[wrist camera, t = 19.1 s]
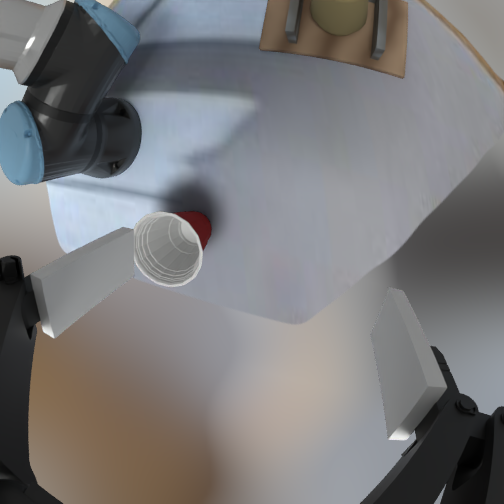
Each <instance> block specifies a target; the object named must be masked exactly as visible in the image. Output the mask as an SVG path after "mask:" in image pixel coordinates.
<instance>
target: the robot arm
mask: <svg viewBox="0 0 504 504" xmlns="http://www.w3.org/2000/svg"><path fill="white" fill-rule="evenodd" d="M139 40H140V34H139V32H138V30H137V29H136V28H135V27H134V26H133V25H132V24H130V23H129V22H128V21H127V20H125V19H124V18H123V17H121V16H120V15H118V14H117V13H115V12H114V11H112V10H111V9H109V8H108V7H106V6H104V5H102V4H100V3H99V2H97V1H96V0H75V2H74V3H72V2H69V1H67V0H60V1H57V2H55V3H53V4H50V5H48V6H43V5H40V4H36V3H33V2H29V1H26V0H0V68H3V69H10V70H12V71H13V72H14V74H15V76H16V79H17V81H18V83H19V84H21V85H26V86H28V87H27V90H26V92H25V95H24V97H23V99H22V101H15V102H14V103H11V104H9V105H8V107H7V108H6V109H5V110H4V111H3V114H2V116H1V118H0V164H1V167H2V170H3V172H4V173H5V175H6V176H7V178H8V179H9V180H10V181H11V182H12V183H14V184H16V185H26V184H38V183H40V182H44V181H48V180H52V179H56V178H60V177H65V176H69V175H73V174H78V173H82V174H85V175H89V176H92V177H96V178H109V177H113V176H117V175H119V174H121V173H122V172H124V171H125V170H126V169H127V168H128V167H129V166H130V165H131V164H132V162H133V161H134V159H135V157H136V155H137V153H138V150H139V146H140V142H141V125H140V120H139V117H138V115H137V112H136V111H135V109H134V108H133V107H132V106H131V105H130V104H129V103H128V102H126V101H124V100H122V99H117V98H104V97H105V96H106V94H107V92H108V91H109V89H110V87H111V86H112V84H113V82H114V81H115V79H116V78H117V76H118V75H119V73H120V71H121V70H122V68H123V67H124V65H125V64H127V63H128V59H129V57H130V56H131V54H132V52H133V51H134V49H135V48H136V46H137V45H138V43H139ZM132 277H134V229H130V228H125V227H122V228H120V229H117V230H115V231H113V232H111V233H109V234H107V235H105V236H103V237H101V238H98V239H96V240H94V241H92V242H90V243H88V244H86V245H84V246H82V247H80V248H78V249H76V250H74V251H72V252H70V253H68V254H66V255H64V256H63V257H61V258H59V259H57V260H55V261H53V262H51V263H49V264H47V265H46V266H44V267H42V268H40V269H38V270H37V271H35V272H33V273H31V274H30V275H28V276H26V277H25V278H24V273H23V267H22V261H21V258H20V257H18V256H12V255H11V256H6V257H3V258H0V504H63V503H62V502H60V501H59V500H57V499H56V498H55V497H53V496H52V495H51V494H49V493H48V492H47V491H45V490H44V489H43V488H42V487H40V486H39V485H38V484H37V481H36V478H35V475H34V473H33V471H32V469H31V466H30V462H29V444H28V411H29V391H30V380H31V369H32V361H33V354H34V346H35V340H36V334H37V328H36V325H35V324H36V323H37V322H39V321H41V325H42V328H43V332H44V333H46V334H48V335H49V336H51V337H53V338H56V337H57V336H58V335H60V334H61V333H62V332H63V331H64V330H66V329H67V328H68V327H69V326H71V325H72V324H73V323H74V322H76V321H77V320H78V319H79V318H81V317H82V316H83V315H84V314H85V313H87V312H88V311H89V310H91V309H92V308H93V307H94V306H96V305H97V304H98V303H99V302H100V301H102V300H103V299H105V298H106V297H107V296H109V295H110V294H111V293H113V292H114V291H115V290H116V289H118V288H119V287H120V286H122V285H123V284H124V283H125V282H127V281H128V280H130V279H131V278H132ZM371 340H372V344H373V349H374V354H375V359H376V365H377V370H378V375H379V381H380V387H381V393H382V399H383V406H384V412H385V420H386V428H387V436H388V440H407V438H408V437H409V436H410V435H411V434H412V433H413V432H414V430H415V434H416V440H415V441H414V442H413V443H412V444H411V445H410V446H409V447H408V448H407V449H406V451H405V452H404V453H403V454H402V457H401V459H400V460H399V461H398V462H397V463H396V465H395V466H394V467H393V468H392V470H391V471H390V472H389V473H388V474H387V475H386V476H385V478H384V479H383V480H382V481H381V482H380V483H379V484H378V485H377V486H376V487H375V488H374V490H373V491H372V492H371V493H370V494H369V495H368V496H367V497H366V498H365V499H364V500H363V501H362V502H361V503H360V504H434V502H435V501H436V499H437V498H438V496H439V494H440V493H441V491H442V489H443V488H444V486H445V484H446V487H445V490H444V493H443V496H442V499H441V503H440V504H504V407H502V406H501V407H498V408H497V409H496V410H495V411H494V413H493V414H492V415H491V416H490V415H487V414H484V413H480V412H479V411H478V407H477V405H476V403H475V402H474V401H473V400H472V399H471V398H470V397H469V396H466V395H464V394H460V393H459V390H458V388H457V385H456V383H455V381H454V378H453V376H452V374H451V372H450V369H449V367H448V365H447V363H446V360H445V359H444V356H443V354H442V353H441V352H440V351H439V350H438V349H437V348H436V347H433V346H430V345H429V343H428V340H427V338H426V336H425V334H424V332H423V330H422V327H421V325H420V323H419V321H418V319H417V317H416V315H415V313H414V311H413V309H412V307H411V305H410V303H409V301H408V299H407V297H406V295H405V294H404V292H403V291H402V290H398V289H394V288H389V289H388V292H387V295H386V298H385V300H384V302H383V305H382V308H381V310H380V313H379V315H378V318H377V320H376V322H375V325H374V327H373V330H372V332H371Z"/></svg>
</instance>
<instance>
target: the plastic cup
mask: <svg viewBox="0 0 504 504" xmlns="http://www.w3.org/2000/svg"><path fill="white" fill-rule="evenodd" d="M211 229H212V228H211V224H210V221H209V220H208V218H207V217H206V216H205V215H203V214H202V213H200V212H195V211H189V212H186V211H185V212H177V213H167V212H162V211H158V212H155V213H151V214H147V215H145V216H144V217H143V218H142V219H141V220H139V221H138V222H137V223H136V225H135V227H134V261H135V264H136V265H137V267H138V268H139V269H140V270H141V272H142V273H143V274H144V276H146V277H147V278H149V279H150V280H152V281H153V282H155V283H156V284H160V285H163V286H167V287H176V286H183V285H185V284H186V283H188V282H189V281H191V280H193V279H194V278H195V276H196V275H197V273H198V271H199V270H200V268H201V265H202V255H203V250H204V248H205V246H206V244H207V242H208V240H209V238H210V236H211Z"/></svg>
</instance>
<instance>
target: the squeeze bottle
mask: <svg viewBox="0 0 504 504" xmlns="http://www.w3.org/2000/svg"><path fill="white" fill-rule="evenodd" d="M368 2H369V0H311V6H310V11H311V14H312V18H313V19H314V20H315V21H316V22H317V24H318V25H319V26H320V27H321V28H322V29H323V30H324V31H326V32H328V33H329V34H332V35H335V36H347V35H349V34H351V33H354V32H356V31H358V30H360V29H361V28H362V27H363V26H364V25H365V24H366V19H367V13H368Z"/></svg>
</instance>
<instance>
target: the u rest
mask: <svg viewBox="0 0 504 504" xmlns="http://www.w3.org/2000/svg"><path fill="white" fill-rule="evenodd" d="M310 6H311V0H268V3H267V8H266V14H265V19H264V24H263V29H262V35H261V40H260V46H259V49H260V50H262V51H273V52H282V53H291V54H298V55H305V56H311V57H317V58H323V59H328V60H333V61H338V62H343V63H347V64H352V65H356V66H360V67H364V68H368V69H371V70H375V71H379V72H382V73H386V74H389V75H392V76H395V77H399V78H402V79H403V78H404V75H405V64H406V49H407V27H408V2H405V1H402V0H369V2H368V13H367V19H366V24H365V25H364V26H363V27H362V28H361V29H360V30H358V31H356V32H354V33H351V34H349V35H347V36H335V35H332V34H329V33H328V32H326V31H324V30H323V29H322V28H321V27H320V26H319V25H318V24H317V22H316V21H315V20H314V19H313V18H312V14H311V11H310Z"/></svg>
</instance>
